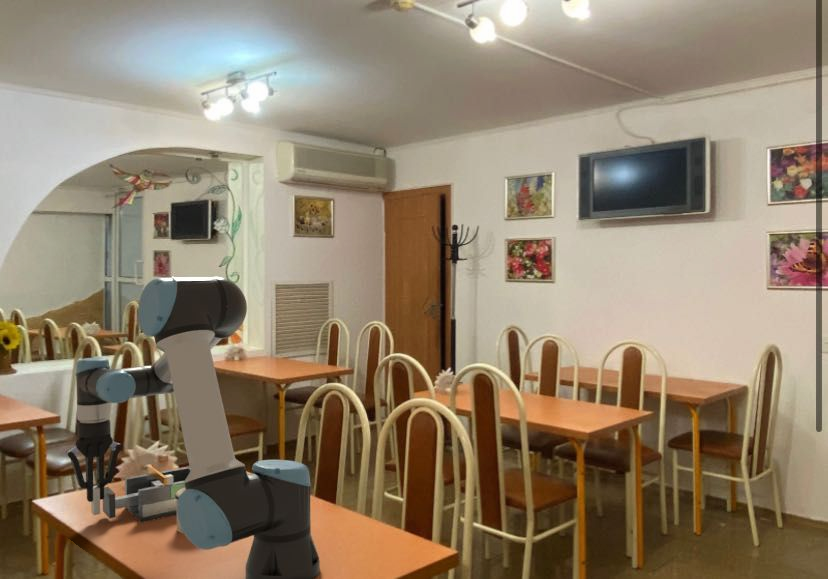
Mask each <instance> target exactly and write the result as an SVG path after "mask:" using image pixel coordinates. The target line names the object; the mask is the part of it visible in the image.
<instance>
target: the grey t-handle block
mask: <svg viewBox="0 0 828 579" xmlns="http://www.w3.org/2000/svg"><path fill="white" fill-rule="evenodd" d="M160 472H161V471H158V470H157V469H156V467H154V466H152V465H151V464H150V465H147V474H151V475H152V476H153V477H155V478H156V479H157V481H151V487H154V486H159V485H167V477H166V476H164V475H163V474H162V473H160ZM134 505H138V493H133V494H128V495H125V494H124V495H123V494H122V495H119V496H116V492H114V491H113V490H112V488H110V487H109V486H107V487H106V486H105V487H104V499H102V512H103V513H104V514H105V515H106V517H107V518H108V519H113V518H114V519H115V518H116V517H117V516H116V514H117V513H116V510H119V509H125V508H126V507H129V506H134Z"/></svg>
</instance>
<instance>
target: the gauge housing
mask: <svg viewBox="0 0 828 579" xmlns="http://www.w3.org/2000/svg"><path fill="white" fill-rule="evenodd" d="M159 472H160V473H162V474H163V475H164V476H165V475H169V474H171V475H173V484H169V485H159V486H154V487H151V481H157V479H156V478H155V477H153V476H152V475H151V474H149V473H147V474H140V475H136V476H135V475H134V476H130V477H125V478H124V495H128V494H133V493H138V505H134V506H129V507H125V509H126V508H127V509H128V510H129V511H130V512H131V513H132V514H133V515H134V516H135V517H136V518H137V519H138V520H139V521H140V522H141V523H145V522H144V521H146V522H150V521H154V520H153V519H155V520H159V519H163V518H162V517H164V518H168V517H173V516H177V506H176V497H175V495H176V493H177V491H179V490H180V489H183V488H185V483H184V481H185V480H186V478H187V476H188V475H189V473H190V466H189V465H188V466H184V467H180V468H179V467H178V468H175V469H173V468H172V469H168V470H162V471H159ZM127 509H126V510H127ZM128 510H127V511H128ZM129 511H128V512H129ZM130 512H129V513H130ZM131 513H130V514H131ZM132 514H131V515H132ZM133 515H132V516H133ZM172 515H173V516H172ZM134 516H133V517H134ZM135 517H134V518H135ZM136 518H135V519H136ZM158 518H159V519H158ZM137 519H136V520H137ZM149 520H150V521H149ZM139 521H138V522H139ZM140 522H139V523H140Z"/></svg>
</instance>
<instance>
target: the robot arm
mask: <svg viewBox="0 0 828 579" xmlns="http://www.w3.org/2000/svg"><path fill="white" fill-rule="evenodd" d="M247 311H248V306H247V300H246V296H245V295H244V293H243V291H242V289H241V288H240V287H239V286H238V285H237V284H236V283H234V282H233V281H231V280H229V279H227V278H224V277H221V276H207V277H206V276H204V277H203V276H196V277H195V276H194V277H193V276H189V277H181V276H180V277H175V276H169V277H161V278H159V277H158V278H154V279H151V280H150V281H149V282H148V283H147V284H146V285H144V287H143V290H142V292H141V294H140V298H139V301H138V307H137V321H138V326H139V329H140V332H141V331H142V334H143V335H145V336H147V337H150V338H154V343H155V347H156V349H158V350H159V351H161V352H162V353H163V354H162V355H160V357H159V358H158V359H157V360H156V361H155V362H154V363H153V364H148V365H141V366H134V367H125V368H122V367H121V368H117V369H115V368H112V369H111V366H110V361H109V359H108V358H106V357H86V358H81V359H79V360H78V361H77V362H76V370H75V382H76V410H77V411H76V412H77V414H76V416H77V417H76V418H77V420H78V422H77V424H76V425H77V440H76V442H75V444H74V445H75V446H73V447H72V448H71V449H68V450H66V451H65V454H66V455H67V457H68V458H69V459H70V461H71V464H72V468H73V472H74V474H75V478H76V481H77V484H78V486H79V487H80V489H86V501H88V502H89V503H90V502H91V503H90V504H91V506H90V508H91V514H92V515H93V516H96V515H97V516H99V515H101V500H103V499H104V488H105V487H106V485H108V484H111V483H112V482H113V477H114V474H115V470H116V465H117V460H118V455H119V453H120V451H121V450H122V448H123V445H122V444H121V443H119V442H116V441H114V439H113V437H112V434H111V419H109V418H110V417H111V404H115V403H116V404H122V403H124V402H127V401H128V400H130V399H135V398H137V399H138V398H142V397H149V396H156V395H163V394H164V395H165V394H172V393H173V395H174V399H175V404H176V409H177V413H178V419H179V423H180V428H181V432H182V436H183V437H182V438H183V442H184V447H185V450H186V451H185V452H186V456H187V459H188V460H187V461H188V464H189V465H188V467H189V466H190V473H189V475H188V476H187V478H186V480H185V481H184V483H185V488H186V490H185V491H184V492H183V493H182V494H181V495H180V496H179V498H178V502H177V503H178V507H177V514H178V519H179V522H180V525H181V528H182V530H183V532H184V536H186V538H187V539H188V540H189V542H191V544H192V545H194V546H195V547H196V548H198V549H201V550H205V551H207V550H212V549H216V548H219V547H222V548H223V547H227V546H228V545H231V544H232V543H235V542H238V541H241V540H244V539H246V538H250V537H253V540H252V543H251V546H250V550H249V553H248V556H247V560H246V563H245V579H315V578H316V577H317V576H318V575H319V573H320V571H321V568H320V567H321V566H320V565H321V564H320V563H321V561H320V557H319V554H318V551H317V547H316V545H315V542H314V539H313V536H312V534H311V533H312V532H311V530H312V528H311V487H312V483H311V477H310V476H311V475H310V470H309V468H308V466H307V465H305V464H304V463H301V462H300V461H299V462H298V461H296V460H295V461H294V460H285V459H264V460H258V461H255V462H254V463H253V465H252V467H251V471H252V473H249V474H248V473H247V470H246V466H245V463H243V462H241V461H239V460H238V459H237V458H236V457H235V452H234V448H233V443H232V439H231V434H230V430H229V425H228V421H227V417H226V411H225V407H224V403H223V399H222V395H221V390H220V386H219V381H218V377H217V372H216V368H215V364H214V359H213V356H212V355H213V354H212V351H211V350H212V349H213V348H215V346H217V344H219V342H220V341H221V340H223V339H224V340H225V339H228V338H230V337H232V336H233V335H234V333H236V332H237V331H238V330H239V328H240V327H241V326H242V325H243V322H245V318H246V316H247ZM109 448H110V454H109V457H108V458H109V459H108V462H107V468H106V471H105V454H106V453H107V451H108V450H109ZM78 452H80V453H81V454H82V455H83V456H84V460H85V478H84V475H83V472H82V468H81V465H80V462H79V459H78V456H79V453H78ZM94 458H96V484H97V485H94Z"/></svg>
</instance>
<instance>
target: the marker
mask: <svg viewBox="0 0 828 579" xmlns="http://www.w3.org/2000/svg"><path fill="white" fill-rule="evenodd" d="M165 476H166V477H167V485H169V484H173V475H171V474H169V475H165Z"/></svg>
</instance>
